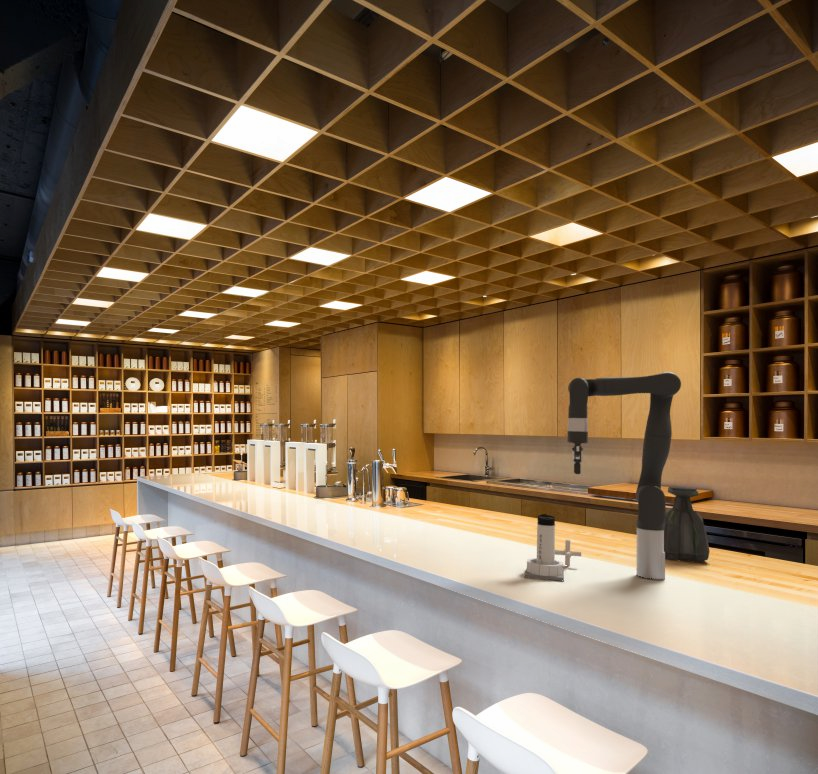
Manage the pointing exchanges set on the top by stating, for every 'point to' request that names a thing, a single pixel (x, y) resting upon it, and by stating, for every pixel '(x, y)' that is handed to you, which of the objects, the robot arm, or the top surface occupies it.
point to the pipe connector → (567, 552)
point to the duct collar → (544, 570)
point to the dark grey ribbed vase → (684, 529)
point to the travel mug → (546, 540)
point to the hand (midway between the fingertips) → (577, 473)
